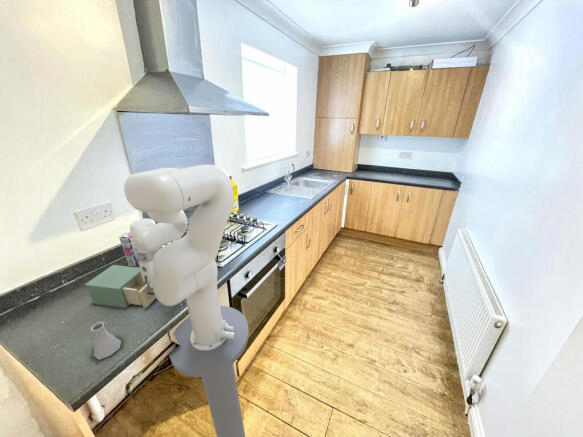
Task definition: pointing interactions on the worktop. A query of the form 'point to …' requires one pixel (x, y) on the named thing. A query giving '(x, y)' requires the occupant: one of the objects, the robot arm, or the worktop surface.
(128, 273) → the cabinet
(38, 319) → the worktop surface
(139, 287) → the drawer
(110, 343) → the flask
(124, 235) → the candy bar box
